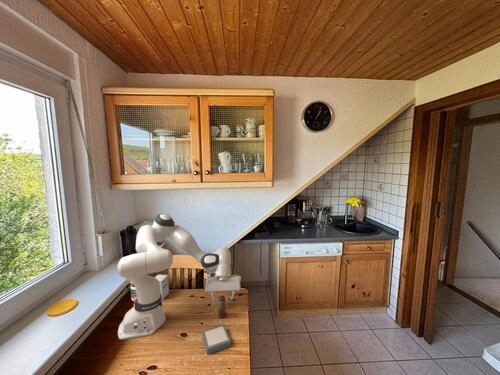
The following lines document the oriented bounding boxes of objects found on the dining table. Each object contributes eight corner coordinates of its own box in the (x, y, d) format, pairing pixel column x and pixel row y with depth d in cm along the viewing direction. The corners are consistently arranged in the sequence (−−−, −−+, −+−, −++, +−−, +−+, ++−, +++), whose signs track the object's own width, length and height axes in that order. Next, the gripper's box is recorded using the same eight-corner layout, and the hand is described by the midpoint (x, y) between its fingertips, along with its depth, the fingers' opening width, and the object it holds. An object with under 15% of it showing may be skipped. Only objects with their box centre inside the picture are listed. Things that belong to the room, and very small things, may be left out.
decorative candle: (148, 297, 137) (144, 260, 134) (131, 303, 132) (127, 264, 129) (145, 290, 145) (142, 255, 141) (130, 295, 140) (126, 258, 136)
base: (207, 354, 97) (207, 349, 96) (202, 336, 107) (202, 331, 106) (230, 345, 101) (230, 340, 101) (224, 329, 111) (224, 324, 111)
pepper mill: (219, 319, 118) (218, 300, 116) (217, 314, 121) (217, 296, 120) (226, 317, 119) (226, 298, 118) (224, 312, 123) (224, 294, 121)
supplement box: (162, 300, 134) (161, 281, 133) (152, 299, 136) (150, 280, 134) (169, 293, 142) (168, 275, 140) (159, 292, 143) (158, 274, 141)
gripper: (240, 275, 132) (241, 301, 124) (206, 277, 131) (205, 302, 123) (240, 272, 127) (241, 299, 119) (205, 274, 126) (203, 300, 118)
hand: (222, 300), depth 121 cm, fingers open, 8 cm apart
